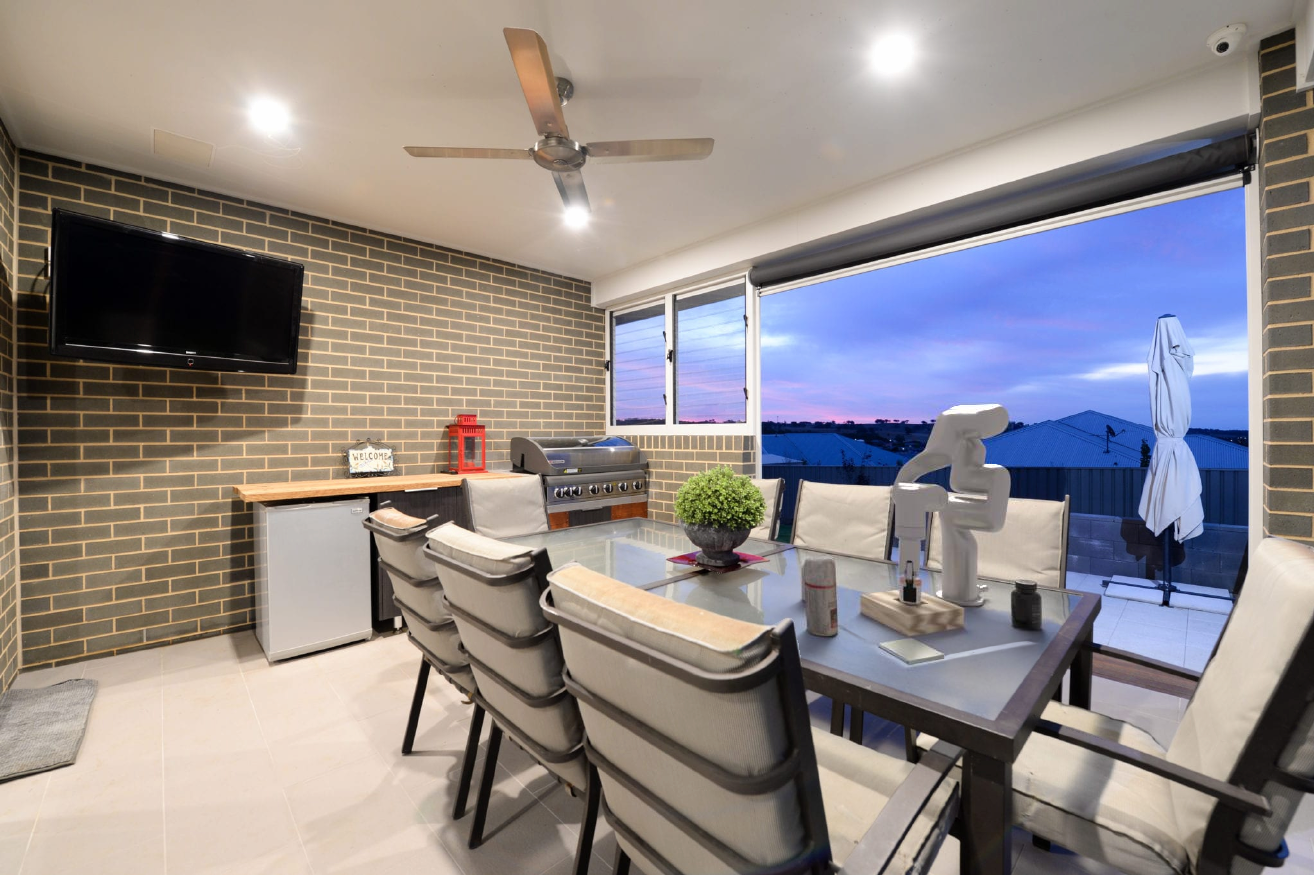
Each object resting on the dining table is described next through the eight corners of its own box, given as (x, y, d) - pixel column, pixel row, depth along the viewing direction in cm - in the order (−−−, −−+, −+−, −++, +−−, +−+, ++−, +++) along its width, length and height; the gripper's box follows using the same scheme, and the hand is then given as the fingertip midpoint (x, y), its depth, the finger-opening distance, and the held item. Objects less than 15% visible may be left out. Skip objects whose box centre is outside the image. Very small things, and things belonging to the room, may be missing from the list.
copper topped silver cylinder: (910, 614, 148) (910, 575, 148) (925, 621, 143) (925, 581, 143) (894, 617, 147) (894, 577, 146) (909, 624, 141) (909, 583, 141)
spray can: (821, 640, 134) (821, 561, 134) (798, 629, 142) (798, 554, 141) (845, 633, 138) (845, 557, 138) (822, 623, 145) (821, 550, 145)
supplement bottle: (1036, 623, 144) (1037, 579, 143) (1046, 632, 137) (1046, 586, 137) (1007, 620, 146) (1007, 577, 146) (1015, 629, 140) (1015, 584, 139)
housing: (911, 608, 156) (911, 588, 156) (964, 631, 139) (964, 608, 139) (860, 615, 151) (860, 594, 151) (908, 640, 134) (908, 616, 133)
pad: (911, 641, 133) (911, 637, 133) (944, 658, 123) (944, 654, 123) (878, 647, 130) (878, 643, 130) (909, 665, 120) (909, 660, 120)
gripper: (896, 525, 154) (896, 587, 154) (893, 537, 138) (893, 606, 139) (926, 527, 150) (925, 591, 151) (925, 539, 135) (925, 610, 135)
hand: (910, 597), depth 145 cm, fingers closed on copper topped silver cylinder, 5 cm apart
